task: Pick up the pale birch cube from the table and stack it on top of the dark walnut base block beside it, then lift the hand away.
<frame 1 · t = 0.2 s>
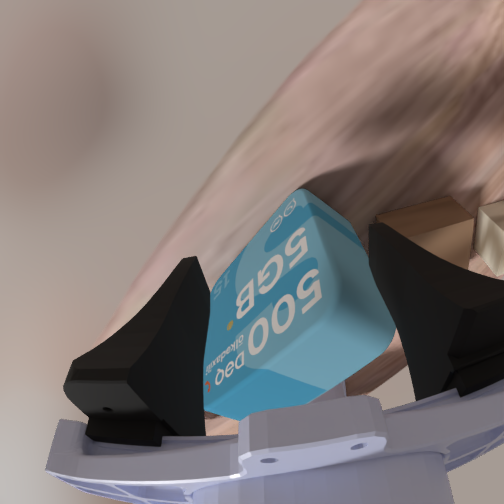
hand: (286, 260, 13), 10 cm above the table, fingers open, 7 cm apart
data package: (273, 252, 25), on the table
birch cube: (492, 222, 24), on the table
walnut base block: (414, 243, 25), on the table
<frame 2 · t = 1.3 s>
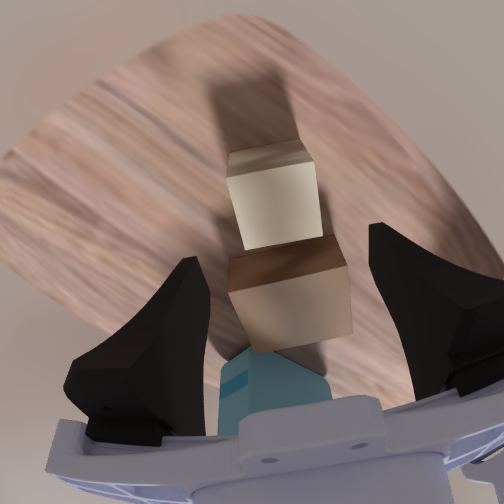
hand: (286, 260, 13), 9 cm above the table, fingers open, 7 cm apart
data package: (278, 368, 33), on the table
birch cube: (271, 177, 21), on the table
walnut base block: (290, 280, 26), on the table
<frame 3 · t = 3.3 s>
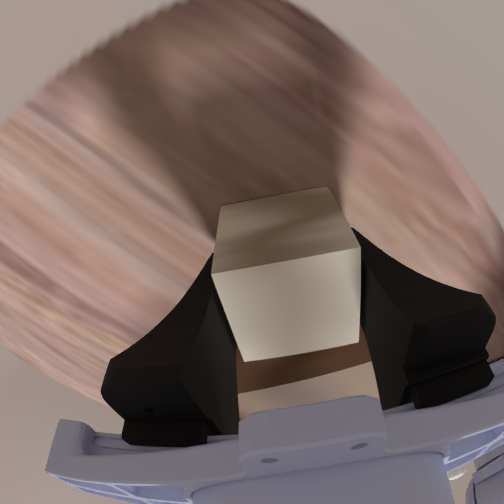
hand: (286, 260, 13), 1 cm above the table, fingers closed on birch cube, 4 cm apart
birch cube: (282, 241, 14), on the table, touching gripper
walnut base block: (302, 356, 20), on the table
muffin: (447, 439, 35), on the table
when the fingers open (6 cm above the table, at t = 7.8 s): birch cube drops 1 cm, point 4 cm above the table.
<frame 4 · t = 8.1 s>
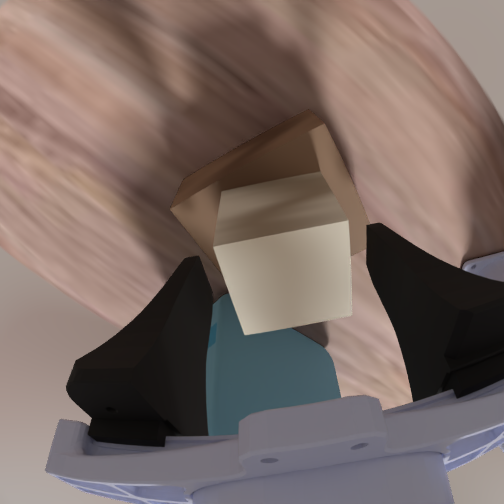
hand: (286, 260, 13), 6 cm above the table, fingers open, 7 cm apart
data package: (264, 334, 26), on the table
birch cube: (279, 223, 15), point 4 cm above the table
walnut base block: (274, 192, 19), on the table
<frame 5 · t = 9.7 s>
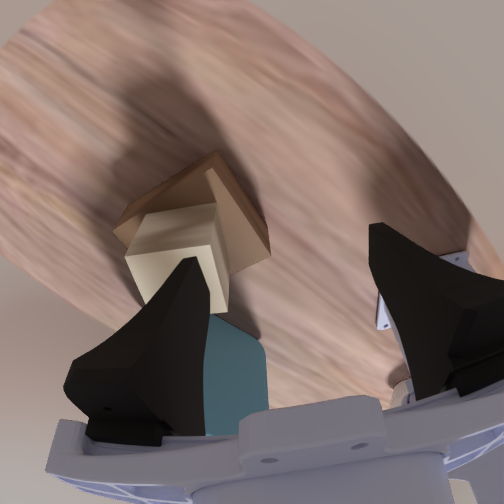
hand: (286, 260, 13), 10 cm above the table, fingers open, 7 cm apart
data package: (204, 326, 30), on the table
birch cube: (189, 239, 20), point 4 cm above the table, touching walnut base block
walnut base block: (197, 213, 24), on the table, touching birch cube
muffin: (403, 383, 39), on the table
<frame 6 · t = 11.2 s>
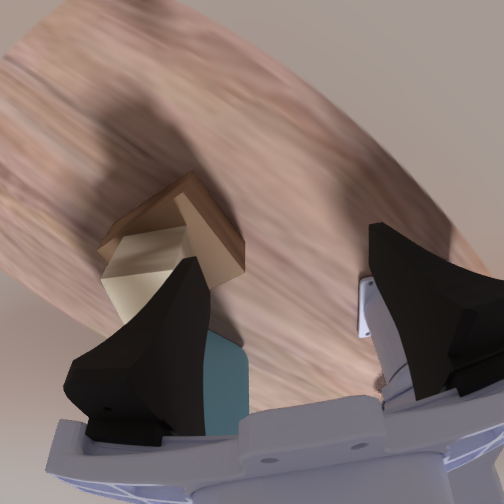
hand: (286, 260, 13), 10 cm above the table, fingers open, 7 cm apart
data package: (189, 334, 31), on the table
birch cube: (164, 259, 21), point 4 cm above the table, touching walnut base block
walnut base block: (177, 231, 25), on the table, touching birch cube
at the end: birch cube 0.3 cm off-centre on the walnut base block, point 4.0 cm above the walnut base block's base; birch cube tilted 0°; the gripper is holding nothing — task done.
